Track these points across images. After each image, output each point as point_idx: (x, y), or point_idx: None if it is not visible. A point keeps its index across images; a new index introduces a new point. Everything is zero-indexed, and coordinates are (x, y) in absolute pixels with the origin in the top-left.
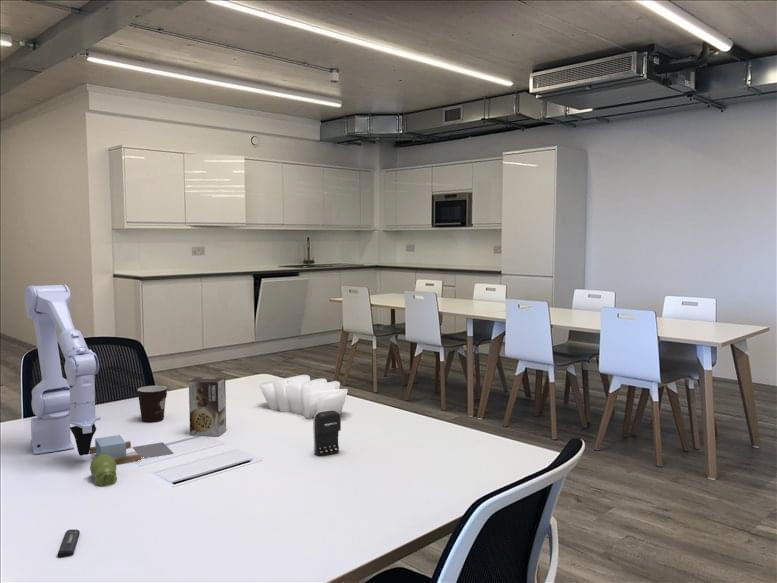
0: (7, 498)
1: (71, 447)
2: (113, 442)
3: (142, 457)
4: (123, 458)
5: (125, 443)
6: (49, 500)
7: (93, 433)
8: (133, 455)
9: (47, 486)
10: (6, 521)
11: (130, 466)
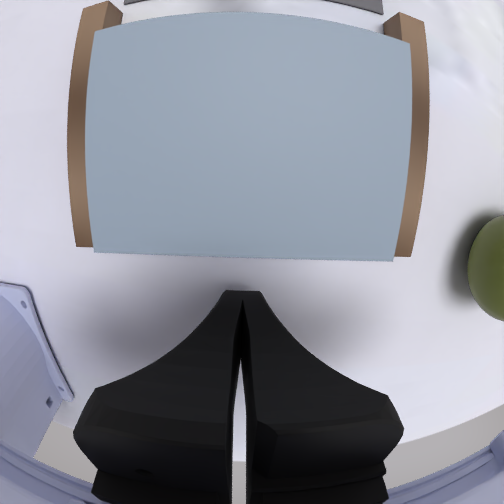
0: (411, 440)
1: (27, 300)
2: (337, 120)
3: (366, 3)
4: (427, 112)
5: (408, 48)
6: (488, 376)
7: (357, 389)
8: (417, 51)
9: (421, 395)
10: (488, 411)
11: (457, 108)
